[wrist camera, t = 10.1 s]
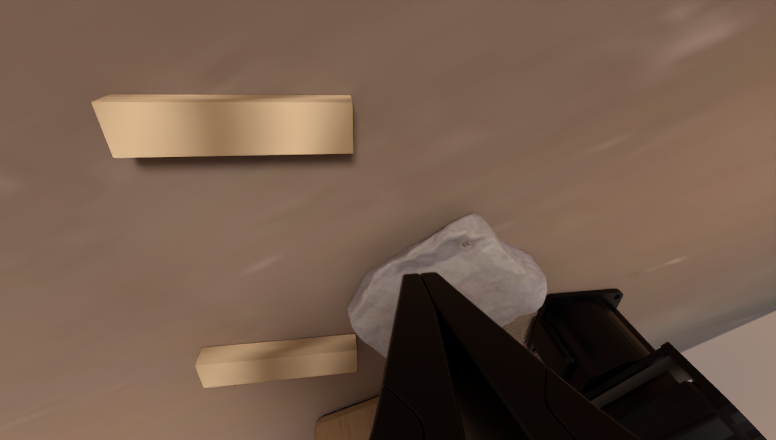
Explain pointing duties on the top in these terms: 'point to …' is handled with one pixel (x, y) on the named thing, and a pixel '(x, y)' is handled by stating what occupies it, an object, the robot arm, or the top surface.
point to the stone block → (451, 278)
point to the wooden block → (348, 423)
